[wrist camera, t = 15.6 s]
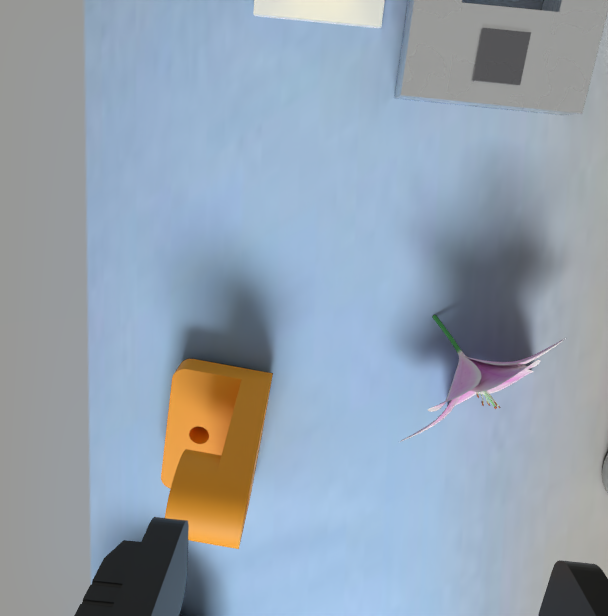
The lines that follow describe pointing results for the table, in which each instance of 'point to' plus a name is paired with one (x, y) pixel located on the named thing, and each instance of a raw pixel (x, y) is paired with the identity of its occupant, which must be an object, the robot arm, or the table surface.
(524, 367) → the lily
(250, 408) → the bracket
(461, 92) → the socket block
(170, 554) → the robot arm
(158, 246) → the table surface
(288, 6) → the pad
